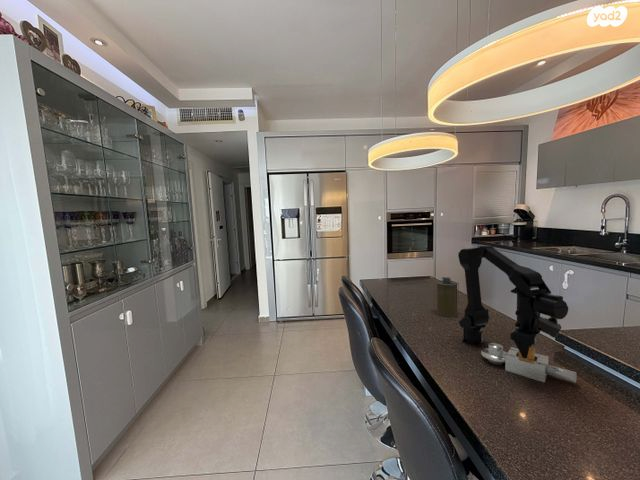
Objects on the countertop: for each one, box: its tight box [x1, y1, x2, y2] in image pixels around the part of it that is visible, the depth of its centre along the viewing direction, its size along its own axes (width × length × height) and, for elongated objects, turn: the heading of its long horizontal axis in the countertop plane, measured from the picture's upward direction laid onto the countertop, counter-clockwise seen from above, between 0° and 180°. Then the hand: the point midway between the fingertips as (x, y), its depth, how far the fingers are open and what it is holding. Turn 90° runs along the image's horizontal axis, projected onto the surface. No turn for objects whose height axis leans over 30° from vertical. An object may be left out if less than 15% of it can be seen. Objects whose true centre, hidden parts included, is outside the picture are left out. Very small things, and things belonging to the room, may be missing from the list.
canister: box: [436, 276, 460, 318], centre depth 146 cm, size 11×10×20 cm
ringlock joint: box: [480, 342, 577, 384], centre depth 91 cm, size 26×9×6 cm, turn 45°
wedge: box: [519, 346, 536, 361], centre depth 91 cm, size 4×2×8 cm, turn 45°
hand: (526, 353), depth 91 cm, fingers open, 7 cm apart
